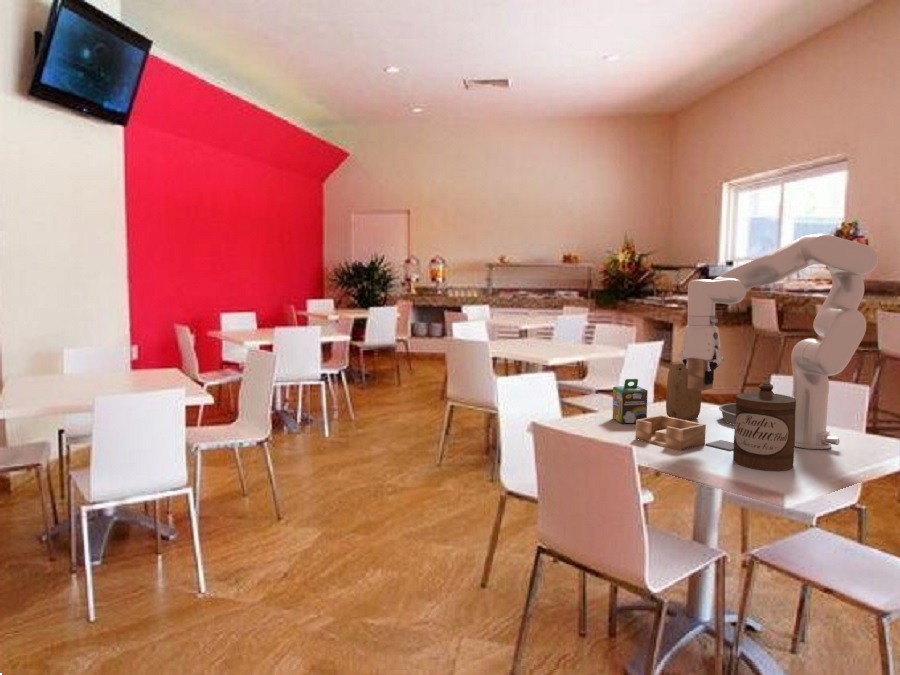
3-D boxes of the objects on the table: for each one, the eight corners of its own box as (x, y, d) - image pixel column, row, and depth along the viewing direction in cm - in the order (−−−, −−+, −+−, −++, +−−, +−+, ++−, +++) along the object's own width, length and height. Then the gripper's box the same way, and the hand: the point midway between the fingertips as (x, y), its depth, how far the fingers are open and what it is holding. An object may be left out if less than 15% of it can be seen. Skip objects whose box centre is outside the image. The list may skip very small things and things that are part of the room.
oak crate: (704, 444, 203) (705, 424, 202) (680, 450, 196) (681, 430, 195) (659, 433, 216) (660, 415, 215) (635, 439, 209) (636, 419, 208)
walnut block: (712, 388, 202) (713, 358, 201) (702, 390, 199) (702, 360, 198) (697, 386, 206) (698, 356, 205) (687, 388, 203) (688, 358, 202)
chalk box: (636, 417, 239) (638, 376, 237) (647, 423, 230) (649, 380, 228) (611, 418, 238) (612, 376, 236) (621, 424, 229) (622, 380, 227)
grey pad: (745, 446, 201) (745, 445, 201) (730, 450, 196) (730, 449, 196) (720, 441, 207) (720, 439, 207) (705, 445, 202) (705, 443, 202)
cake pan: (703, 420, 237) (703, 407, 237) (746, 412, 250) (746, 400, 250) (768, 434, 217) (769, 420, 216) (811, 425, 230) (812, 412, 229)
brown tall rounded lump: (672, 420, 234) (674, 363, 232) (663, 416, 242) (665, 360, 240) (702, 420, 235) (705, 363, 233) (693, 415, 243) (695, 360, 241)
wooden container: (726, 464, 183) (730, 383, 180) (741, 452, 194) (745, 376, 192) (786, 474, 174) (791, 389, 171) (798, 462, 185) (803, 382, 183)
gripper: (735, 322, 195) (734, 385, 197) (684, 319, 209) (683, 378, 211) (719, 324, 191) (718, 388, 193) (668, 321, 205) (668, 380, 207)
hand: (700, 382), depth 202 cm, fingers closed on walnut block, 5 cm apart
